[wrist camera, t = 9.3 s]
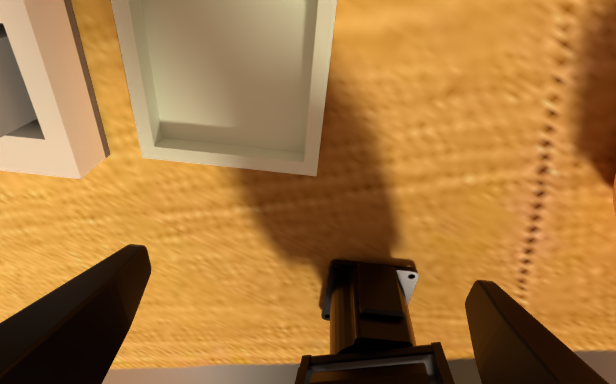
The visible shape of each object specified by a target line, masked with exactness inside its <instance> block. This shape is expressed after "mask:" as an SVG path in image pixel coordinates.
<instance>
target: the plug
mask: <svg viewBox="0 0 616 384" xmlns="http://www.w3.org/2000/svg"><path fill="white" fill-rule="evenodd" d="M35 119H37V116H36V113H35V110H34V107H33V105H32V102H31V99H30V96H29V94H28V91H27V88H26V85H25V83H24V80H23V77H22V74H21V72H20V69H19V66H18V63H17V61H16V58H15V55H14V52H13V50H12V47H11V44H10V41H9V39H8V36H7V33H6V30H5V28H4V27H0V138H1V137H3V136H4V135H6V134H8V133H10V132H12V131H14V130H16V129H18V128H20V127H22V126H24V125H26V124H28V123H30V122H31V121H33V120H35Z"/></svg>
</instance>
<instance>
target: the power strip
mask: <svg viewBox="0 0 616 384" xmlns="http://www.w3.org/2000/svg"><path fill="white" fill-rule="evenodd" d="M0 27H4V28H5V30H6V33H7V36H8V39H9V41H10V44H11V47H12V50H13V52H14V55H15V58H16V61H17V63H18V66H19V69H20V72H21V74H22V77H23V80H24V83H25V85H26V88H27V91H28V94H29V96H30V99H31V102H32V105H33V107H34V110H35V113H36V116H37V119H35V120H33V121H31V122H30V123H28V124H26V125H24V126H22V127H20V128H18V129H16V130H14V131H12V132H10V133H8V134H6V135H4V136H3V137H1V138H0V171H9V172H18V173H28V174H37V175H47V176H56V177H66V178H75V179H82V178H83V177H84V176H85V175H87V174H88V173H89V172H90V171H91V170H92V169H94V168H95V167H96V166H97V165H98V164H99V163H101V162H102V161H103V160H104V159H105V158H107V157H108V156H109V155H110V152H109V148H108V144H107V140H106V136H105V133H104V129H103V125H102V121H101V117H100V113H99V109H98V105H97V101H96V98H95V94H94V90H93V86H92V82H91V78H90V74H89V70H88V66H87V63H86V59H85V55H84V51H83V47H82V43H81V39H80V35H79V31H78V28H77V24H76V20H75V16H74V12H73V8H72V4H71V0H0Z"/></svg>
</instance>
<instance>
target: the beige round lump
mask: <svg viewBox="0 0 616 384" xmlns="http://www.w3.org/2000/svg"><path fill="white" fill-rule="evenodd" d="M613 202H614V209H615V214H616V175H615V179H614V186H613Z"/></svg>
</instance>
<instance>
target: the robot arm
mask: <svg viewBox="0 0 616 384" xmlns="http://www.w3.org/2000/svg"><path fill="white" fill-rule="evenodd" d="M335 266H338V267H335ZM150 274H151V264H150V260H149V255H148V251H147V248H146V247H145V246H143V245H135V244H130V245H127V246H125V247H124V248H122V249H121V250H119V251H117V252H116V253H114V254H112V255H111V256H109V257H107V258H106V259H104V260H103V261H101V262H99V263H98V264H96V265H94V266H93V267H91V268H89V269H88V270H86V271H85V272H83V273H81V274H80V275H78V276H76V277H75V278H73V279H71V280H70V281H68V282H67V283H65V284H63V285H62V286H60V287H58V288H57V289H55V290H54V291H52V292H50V293H49V294H47V295H45V296H44V297H42V298H40V299H39V300H37V301H36V302H34V303H32V304H31V305H29V306H27V307H26V308H24V309H22V310H21V311H19V312H18V313H16V314H14V315H13V316H11V317H9V318H8V319H6V320H5V321H3V322H1V323H0V384H102V382H103V380H104V378H105V376H106V374H107V372H108V370H109V368H110V366H111V364H112V362H113V360H114V358H115V357H116V355H117V353H118V351H119V349H120V347H121V345H122V343H123V341H124V339H125V337H126V335H127V333H128V331H129V329H130V327H131V324H132V322H133V319H134V317H135V314H136V311H137V309H138V306H139V304H140V301H141V298H142V296H143V293H144V290H145V288H146V285H147V282H148V280H149V277H150ZM410 274H412V275H410ZM418 277H419V275H418V271H417V270H416V269H415V268H410V267H400V266H391V265H381V264H372V263H363V262H353V261H344V260H333V261H331V262H330V265H329V271H328V277H327V283H326V289H325V295H324V301H323V307H322V318H323V319H324V320H329V321H330V354H329V355H319V356H311V355H304V356H302V360H301V364H300V367H299V368H298V372H297V377H296V381H295V384H454V381H453V378H452V375H451V372H450V369H449V366H448V363H447V360H446V357H445V354H444V352H443V349H442V346H441V343H440V342H434V343H431V344H430V345H420V346H416V341H415V337H414V332H413V328H412V323H411V319H410V314H409V310H408V304H409V301H410V298H411V296H412V293H413V290H414V288H415V285H416V283H417V280H418ZM465 308H466V314H467V319H468V324H469V330H470V335H471V340H472V345H473V351H474V356H475V360H476V364H477V368H478V372H479V375H480V378H481V381H482V384H609V383H608V382H607V381H605V380H604V379H603V378H602V377H601V376H600V375H599V374H597V373H596V372H595V371H594V370H593V369H592V368H591V367H589V366H588V365H587V364H586V363H585V362H584V361H583V360H582V359H581V358H579V357H578V356H577V355H576V354H575V353H574V352H573V351H571V350H570V349H569V348H568V347H567V346H566V345H565V344H564V343H562V342H561V341H560V340H559V339H558V338H557V337H556V336H555V335H553V334H552V333H551V332H550V331H549V330H548V329H547V328H545V327H544V326H543V325H542V324H541V323H540V322H539V321H538V320H536V319H535V318H534V317H533V316H532V315H531V314H530V313H528V312H527V311H526V310H525V309H524V308H523V307H522V306H521V305H519V304H518V303H517V302H516V301H515V300H514V299H513V298H511V297H510V296H509V295H508V294H507V293H506V292H505V291H504V290H502V289H501V288H500V287H499V286H498V285H497V284H496V283H494V282H492V281H486V280H477V281H475V283H474V284H473V286H472V288H471V290H470V292H469V294H468V296H467V298H466V302H465Z"/></svg>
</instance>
